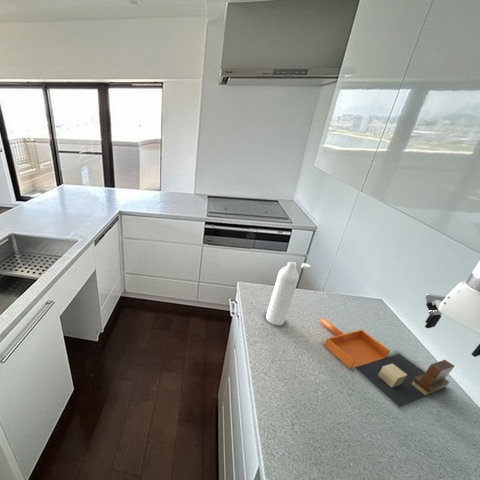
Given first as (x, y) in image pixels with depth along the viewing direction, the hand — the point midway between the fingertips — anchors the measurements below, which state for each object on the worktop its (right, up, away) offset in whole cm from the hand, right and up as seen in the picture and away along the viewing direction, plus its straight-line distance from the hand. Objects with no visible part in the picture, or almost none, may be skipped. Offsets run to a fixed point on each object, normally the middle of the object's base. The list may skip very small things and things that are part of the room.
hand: (451, 340), depth 67 cm
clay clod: (-9, -15, +8) cm, 19 cm away
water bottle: (-32, -4, +29) cm, 44 cm away
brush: (+1, -16, +7) cm, 18 cm away
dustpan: (-14, -9, +21) cm, 27 cm away
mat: (-5, -15, +9) cm, 18 cm away
